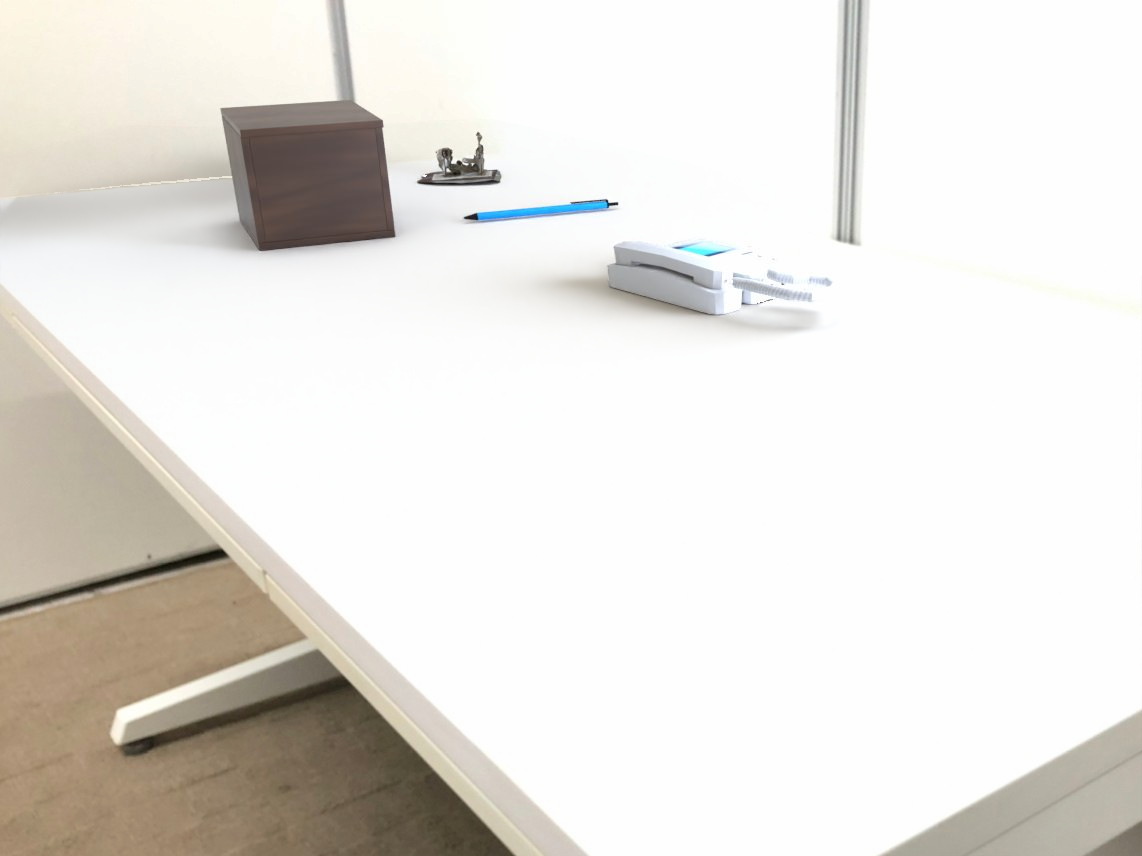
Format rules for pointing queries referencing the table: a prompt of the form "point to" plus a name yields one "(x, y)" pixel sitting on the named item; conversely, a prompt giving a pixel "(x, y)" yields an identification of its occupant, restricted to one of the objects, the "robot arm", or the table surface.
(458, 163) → the pewter figure scene
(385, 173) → the box
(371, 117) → the box lid
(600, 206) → the pen
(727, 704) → the table surface
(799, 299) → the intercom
